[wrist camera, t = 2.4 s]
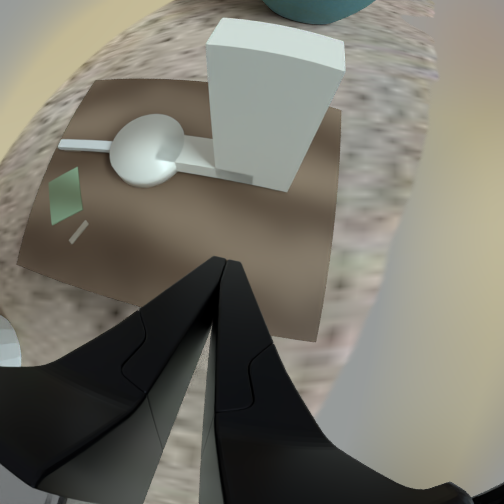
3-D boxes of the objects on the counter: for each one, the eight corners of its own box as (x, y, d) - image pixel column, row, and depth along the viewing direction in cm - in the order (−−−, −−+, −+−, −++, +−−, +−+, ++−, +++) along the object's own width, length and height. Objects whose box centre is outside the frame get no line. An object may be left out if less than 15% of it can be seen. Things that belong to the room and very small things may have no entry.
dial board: (310, 340, 16) (316, 342, 15) (25, 266, 16) (15, 264, 14) (336, 118, 20) (341, 109, 19) (99, 88, 19) (95, 79, 18)
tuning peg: (283, 214, 16) (346, 102, 6) (50, 175, 16) (-30, 102, 6) (294, 146, 17) (342, 24, 7) (76, 120, 17) (20, 36, 7)
